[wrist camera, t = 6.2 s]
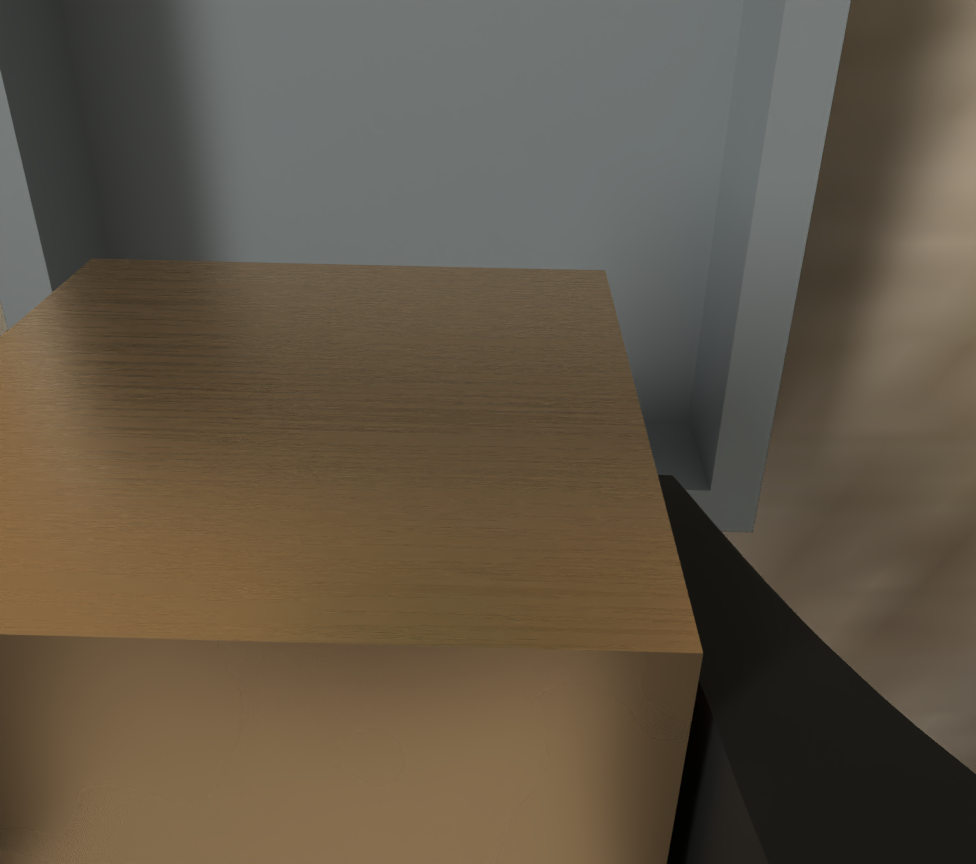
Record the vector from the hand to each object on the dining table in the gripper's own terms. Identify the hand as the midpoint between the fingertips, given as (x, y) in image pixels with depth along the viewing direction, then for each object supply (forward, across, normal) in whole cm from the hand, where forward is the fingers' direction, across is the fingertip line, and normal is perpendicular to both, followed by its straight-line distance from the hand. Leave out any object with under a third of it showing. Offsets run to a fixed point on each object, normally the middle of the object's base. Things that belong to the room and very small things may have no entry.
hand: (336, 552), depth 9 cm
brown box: (+2, 0, 0) cm, 2 cm away
